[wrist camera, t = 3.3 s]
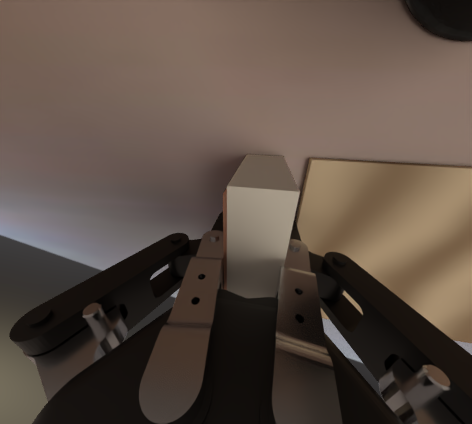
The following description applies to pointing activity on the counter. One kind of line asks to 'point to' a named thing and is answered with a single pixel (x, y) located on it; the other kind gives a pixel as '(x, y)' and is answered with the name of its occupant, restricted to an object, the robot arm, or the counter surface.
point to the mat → (397, 231)
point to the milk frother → (444, 17)
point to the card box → (257, 224)
